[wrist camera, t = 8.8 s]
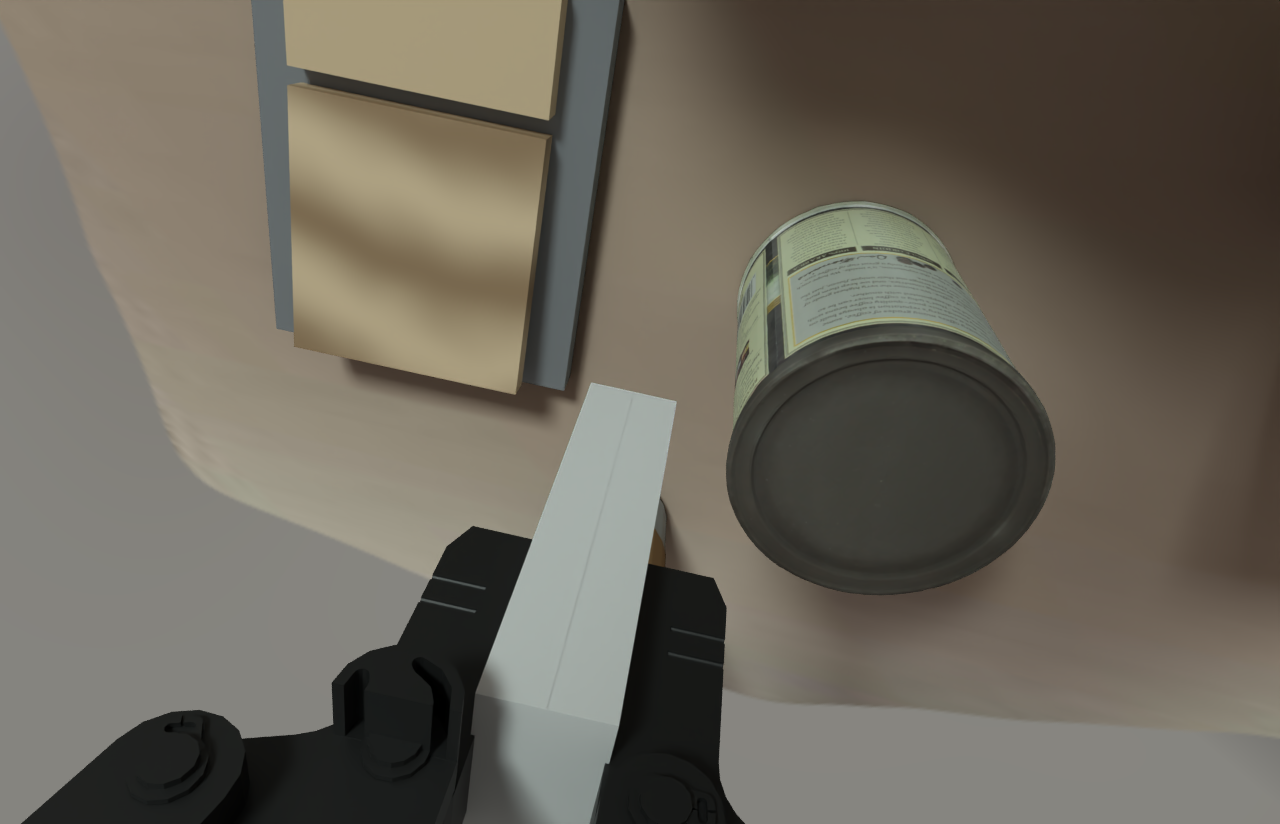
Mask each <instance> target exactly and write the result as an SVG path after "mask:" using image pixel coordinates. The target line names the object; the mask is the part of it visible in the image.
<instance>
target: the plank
mask: <svg viewBox="0 0 1280 824" xmlns="http://www.w3.org/2000/svg"><path fill="white" fill-rule="evenodd" d="M287 96H288V133H289V170H290V207H291V244H292V280H293V317H294V347H298V348H303V349H307V350H312V351H317V352H321V353H326V354H330V355H335V356H340V357H344V358H349V359H353V360H358V361H363V362H367V363H372V364H376V365H381V366H386V367H390V368H395V369H399V370H404V371H409V372H413V373H418V374H422V375H427V376H432V377H436V378H441V379H445V380H450V381H455V382H459V383H464V384H468V385H473V386H478V387H482V388H487V389H491V390H496V391H501V392H505V393H510V394H514V395H516V393H517V391H518V390H519V388H520V386H521V385H522V378H523V370H524V362H525V354H526V346H527V338H528V330H529V321H530V313H531V305H532V297H533V289H534V281H535V273H536V265H537V257H538V249H539V241H540V233H541V224H542V216H543V208H544V200H545V192H546V184H547V176H548V168H549V160H550V152H551V144H552V136H553V135H549V134H544V133H540V132H535V131H530V130H525V129H521V128H516V127H511V126H506V125H502V124H497V123H492V122H487V121H483V120H478V119H473V118H468V117H464V116H459V115H454V114H449V113H445V112H440V111H435V110H430V109H426V108H421V107H416V106H411V105H407V104H402V103H397V102H392V101H388V100H383V99H378V98H373V97H369V96H364V95H359V94H355V93H350V92H345V91H340V90H336V89H331V88H326V87H321V86H317V85H312V84H307V83H302V82H300V83H295V84H290V85H287Z"/></svg>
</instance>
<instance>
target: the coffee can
mask: <svg viewBox="0 0 1280 824" xmlns="http://www.w3.org/2000/svg"><path fill="white" fill-rule="evenodd" d="M737 319H738V331H737V353H736V377H735V395H734V414H733V433H732V436H731V440H730V444H729V449H728V454H727V462H726V480H727V490H728V495H729V499H730V502H731V505H732V508H733V510H734V513H735V515H736V517H737V519H738V521H739V523H740V525H741V527H742V528H743V530H744V531H745V533H746V534H747V536H748V537H749V539H750V540H751V541H752V542H753V543H754V544H755V546H756V547H757V548H758V549H759V550H760V551H761V552H762V553H763V554H764V555H765V556H766V557H768V558H769V559H770V560H771V561H773V562H774V563H776V564H777V565H778V566H779V567H782V568H784V569H785V570H787V571H789V572H790V573H792V574H794V575H795V576H798V577H800V578H802V579H804V580H807V581H810V582H812V583H814V584H817V585H820V586H823V587H826V588H830V589H834V590H837V591H842V592H847V593H855V594H863V595H894V594H904V593H911V592H918V591H923V590H926V589H930V588H935V587H939V586H942V585H946V584H949V583H951V582H954V581H956V580H959V579H961V578H963V577H966V576H968V575H970V574H972V573H974V572H976V571H978V570H979V569H981V568H983V567H985V566H986V565H988V564H989V563H991V562H992V561H994V560H995V559H996V558H998V557H999V556H1000V555H1002V554H1003V553H1004V552H1006V551H1007V550H1008V549H1010V548H1011V547H1012V546H1013V545H1014V544H1015V543H1016V542H1017V541H1018V540H1019V539H1020V538H1021V537H1022V535H1023V534H1024V533H1025V532H1026V531H1027V530H1028V529H1029V527H1030V526H1031V524H1032V523H1033V521H1034V520H1035V519H1036V517H1037V516H1038V514H1039V512H1040V510H1041V509H1042V507H1043V505H1044V503H1045V501H1046V498H1047V496H1048V493H1049V490H1050V488H1051V484H1052V480H1053V475H1054V469H1055V442H1054V436H1053V432H1052V428H1051V424H1050V421H1049V418H1048V416H1047V413H1046V411H1045V408H1044V407H1043V405H1042V403H1041V402H1040V400H1039V398H1038V397H1037V395H1036V393H1035V392H1034V391H1033V389H1032V388H1031V387H1030V385H1029V384H1028V383H1027V381H1026V380H1025V379H1024V378H1023V377H1022V376H1021V374H1020V373H1019V372H1018V371H1017V370H1016V369H1015V367H1014V366H1013V364H1012V362H1011V360H1010V359H1009V357H1008V355H1007V354H1006V352H1005V350H1004V348H1003V347H1002V345H1001V343H1000V342H999V340H998V338H997V337H996V335H995V333H994V331H993V330H992V328H991V326H990V325H989V323H988V321H987V320H986V318H985V316H984V315H983V313H982V311H981V310H980V308H979V306H978V304H977V303H976V301H975V300H974V298H973V297H972V295H971V293H970V292H969V290H968V288H967V287H966V285H965V283H964V282H963V280H962V278H961V277H960V275H959V273H958V272H957V270H956V268H955V266H954V264H953V261H952V259H951V257H950V255H949V253H948V251H947V249H946V248H945V246H944V245H943V243H942V242H941V241H940V239H939V238H938V237H937V236H936V235H935V234H934V233H933V232H932V231H931V230H930V229H929V228H928V227H927V226H926V225H925V224H924V223H922V222H921V221H919V220H918V219H917V218H915V217H914V216H912V215H911V214H908V213H906V212H904V211H902V210H899V209H896V208H893V207H890V206H887V205H883V204H878V203H872V202H865V201H860V202H840V203H835V204H830V205H825V206H819V207H816V208H814V209H812V210H810V211H808V212H805V213H803V214H800V215H798V216H797V217H795V218H793V219H791V220H790V221H788V222H786V223H785V224H783V225H782V226H781V227H779V228H778V229H777V230H776V231H774V232H773V233H772V234H771V235H770V236H769V237H768V238H767V239H766V240H765V241H764V242H763V243H762V245H761V246H760V247H759V248H758V250H757V251H756V252H755V254H754V255H753V257H752V258H751V259H750V261H749V264H748V266H747V268H746V270H745V272H744V275H743V278H742V281H741V284H740V288H739V293H738V300H737Z"/></svg>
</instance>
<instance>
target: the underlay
mask: <svg viewBox="0 0 1280 824" xmlns="http://www.w3.org/2000/svg"><path fill="white" fill-rule="evenodd" d="M251 3H252V16H253V29H254V41H255V54H256V67H257V80H258V93H259V106H260V119H261V132H262V145H263V158H264V171H265V184H266V197H267V210H268V223H269V236H270V249H271V262H272V275H273V288H274V301H275V314H276V327H277V329H281V330H286V331H290V332H294V317H293V280H292V244H291V207H290V170H289V133H288V96H287V85H290V84H295V83H300V82H302V83H307V84H312V85H317V86H321V87H326V88H331V89H336V90H340V91H345V92H350V93H355V94H359V95H364V96H369V97H373V98H378V99H383V100H388V101H392V102H397V103H402V104H407V105H411V106H416V107H421V108H426V109H430V110H435V111H440V112H445V113H449V114H454V115H459V116H464V117H468V118H473V119H478V120H483V121H487V122H492V123H497V124H502V125H506V126H511V127H516V128H521V129H525V130H530V131H535V132H540V133H544V134H549V135H553V136H552V144H551V152H550V160H549V168H548V176H547V184H546V192H545V200H544V208H543V216H542V224H541V233H540V241H539V249H538V257H537V265H536V273H535V281H534V289H533V297H532V305H531V313H530V321H529V330H528V338H527V346H526V354H525V362H524V370H523V378H522V382H525V383H530V384H535V385H539V386H544V387H548V388H553V389H558V390H562V391H564V389H565V387H566V385H567V382H568V380H569V378H570V372H571V365H572V358H573V351H574V345H575V338H576V331H577V324H578V317H579V310H580V303H581V296H582V289H583V283H584V276H585V269H586V262H587V255H588V248H589V241H590V234H591V227H592V221H593V214H594V207H595V200H596V193H597V186H598V179H599V172H600V165H601V159H602V152H603V145H604V138H605V131H606V124H607V117H608V110H609V103H610V97H611V90H612V83H613V76H614V69H615V62H616V55H617V48H618V41H619V35H620V28H621V21H622V14H623V7H624V0H251Z"/></svg>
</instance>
